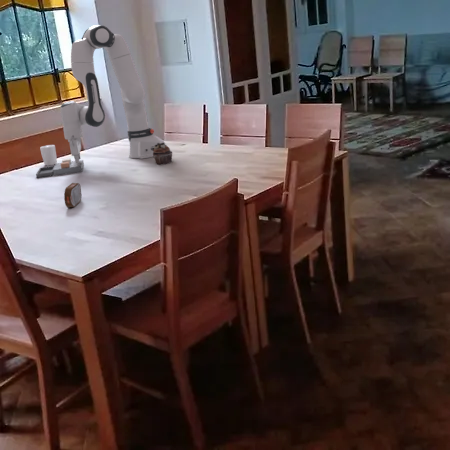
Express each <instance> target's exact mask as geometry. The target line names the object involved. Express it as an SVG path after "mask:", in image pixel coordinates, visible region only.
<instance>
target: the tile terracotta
mask: <svg viewBox="0 0 450 450" xmlns="http://www.w3.org/2000/svg"><path fill="white" fill-rule="evenodd" d="M60 163H61V168H65V167H70V162H62V161H61V162H60Z"/></svg>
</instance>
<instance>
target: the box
mask: <svg viewBox="0 0 450 450" xmlns="http://www.w3.org/2000/svg"><path fill="white" fill-rule="evenodd" d="M54 167H55V165H49V166H44V167H40V168H39V169H38V170H37V172H36V174H35V175H36V176H35V177H36V179H42V178H49V177H54V173H53V169H54Z"/></svg>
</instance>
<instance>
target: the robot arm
mask: <svg viewBox="0 0 450 450" xmlns="http://www.w3.org/2000/svg"><path fill="white" fill-rule="evenodd" d="M102 48H103V49H104V50H105V51H106V52H107V54H108V57H109V60H110V63H111V66H112V69H113V72H114V76H115V77H116V79H117V82H118V85H119V87H120V95H121V100H122V105H123V109H124V115H125V118H126V119H125V120H126V126H127V138H128V139H127V140H128V141H129V154H128V157H129V158H130V159H148V158H152V157H153V158H154V156H153V150H154V146H155V145H157V143H165V141H164V140H163V138H161V137H159V136H157V135H155V134H154V133H155V130H154V129H153V128H151V127H149V121H148V114H147V109H146V106H145V102H144V99H145V96H146V91H145V87H144V85H143V82H142V80H141V77H140V75H139V72H138V70H137V68H136V65H135V62H134V59H133V57H132V53H131V51H130V47H129V46H128V43H127V41H126V40H125V37H124V36H123V35H122V34H119V33H113V32H112V31H111V30H110V29H109V28H108V27H107V26H105V25H102V24H97V25H92V26H91V27H88V28H87V29H86V30H85V31H84V33H83V35H82V37H81V39H78V40H75V41H73V42H72V44H71V50H70V51H71V52H70V63H71V72H72V76H73V77H74V78H75V79H76V81H79V82H80V83H81V84H82V85H83V86H84V89H85V90H86V91H85V92H86V98H87V104H88V105H84V104H80V103H77V102H75V101H74V100H72V101H71V100H70V101H67V102H64V103H62V104H61V106H60V110H59V112H60V118H61V123H62V125H63V126H62V127H63V128H62V130H63V136H64V139H65V140H67V143H69V148H70V155H71V156H72V157H73V158H74V161H75V162H76V163H79V160H81V150H82V139H81V138H82V137H83V136H84V135H83V131H82V126H83V125H85V126H91V127H94V128H98V127H100V126H101V125H103V124H104V122H105V118H106V115H105V114H106V113H105V111H104V108H103V106H102V101H101V94H100V89H99V82H98V78H97V75H96V72H95V63H94V53H95V50H98V49H99V50H100V49H102ZM165 144H166V143H165ZM170 151H171V149H170ZM171 152H172V151H171Z"/></svg>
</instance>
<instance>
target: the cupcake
mask: <svg viewBox="0 0 450 450" xmlns="http://www.w3.org/2000/svg"><path fill="white" fill-rule="evenodd" d="M170 150H171V148H170V147H169V146H168V145H167V144H166V143H157V145H155V146H154V150H153V156H154V157H153V158H154V161H155V164H156V165H159V166H162V165H168V164H171V163H173V162H172V161H173V151H170Z"/></svg>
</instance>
